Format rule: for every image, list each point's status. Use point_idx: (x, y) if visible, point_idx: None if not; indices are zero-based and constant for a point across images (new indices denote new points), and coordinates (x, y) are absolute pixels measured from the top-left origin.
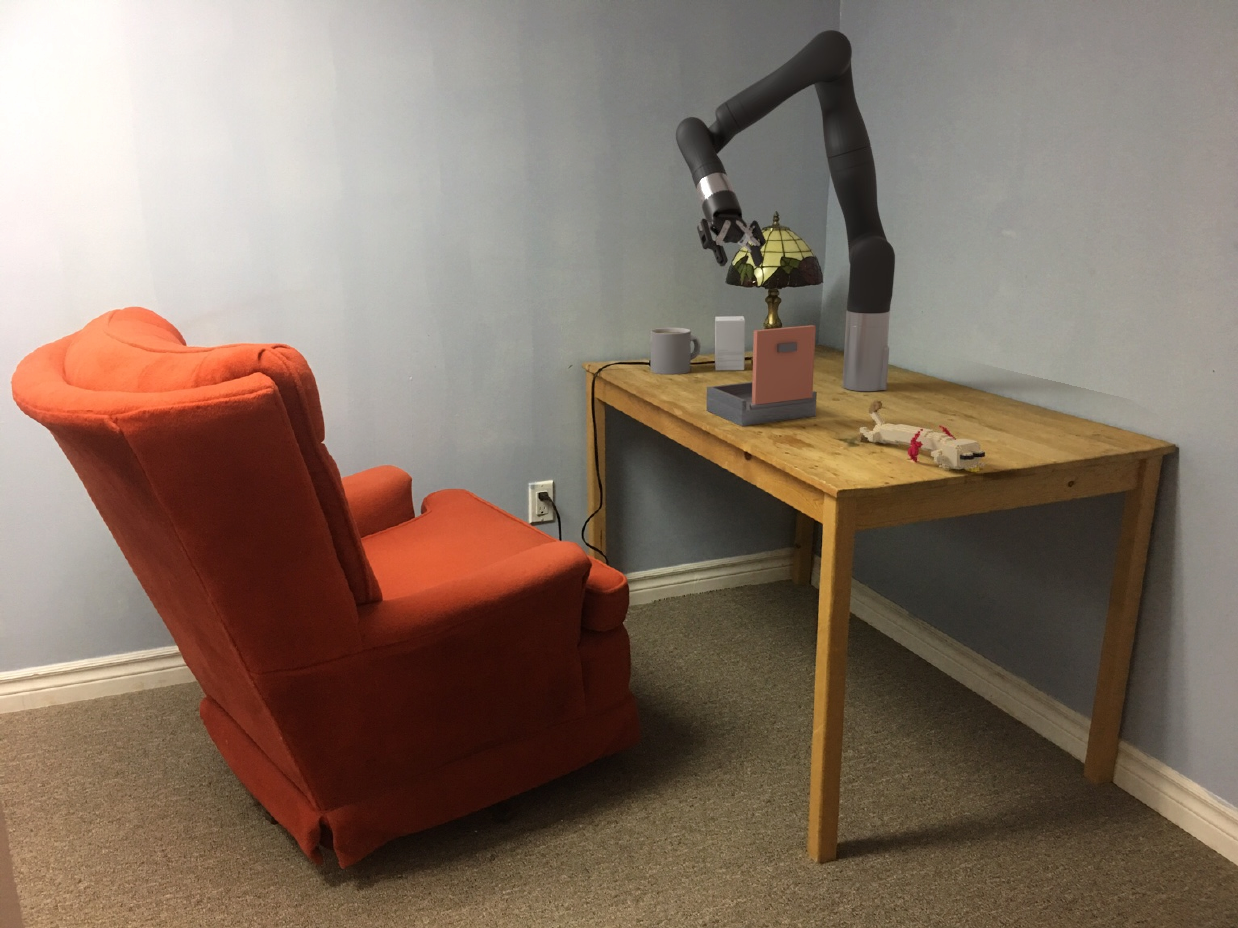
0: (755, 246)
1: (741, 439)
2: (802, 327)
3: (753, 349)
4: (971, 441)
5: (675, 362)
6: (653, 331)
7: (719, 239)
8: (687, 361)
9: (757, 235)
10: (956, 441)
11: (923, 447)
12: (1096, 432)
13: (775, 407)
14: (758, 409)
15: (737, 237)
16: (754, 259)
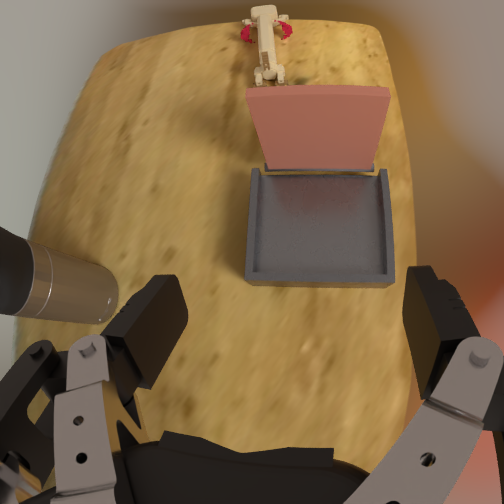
0: (110, 352)
1: (403, 140)
2: (278, 86)
3: (384, 119)
4: (256, 8)
5: None
6: None
7: (472, 386)
8: None
9: (23, 405)
10: (264, 11)
11: (273, 33)
12: (105, 73)
13: (327, 175)
14: (356, 175)
15: (210, 445)
16: (168, 333)
